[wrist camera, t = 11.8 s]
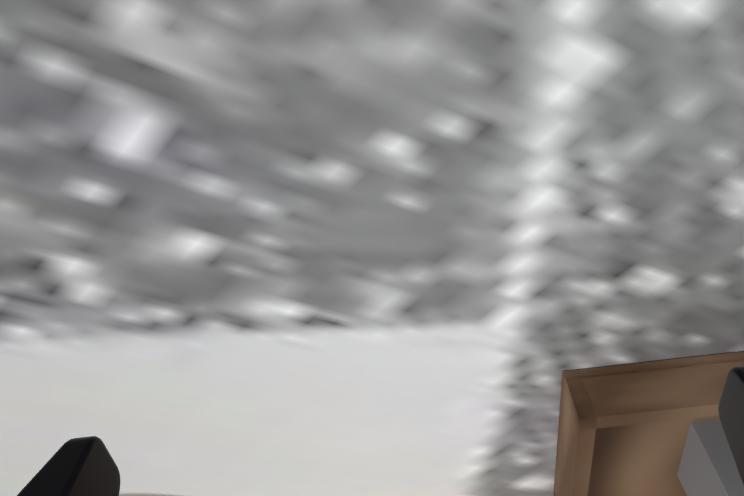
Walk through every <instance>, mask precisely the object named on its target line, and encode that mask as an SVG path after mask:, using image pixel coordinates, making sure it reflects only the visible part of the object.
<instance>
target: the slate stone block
mask: <svg viewBox="0 0 744 496" xmlns="http://www.w3.org/2000/svg"><path fill="white" fill-rule="evenodd" d="M677 476H678V478H679V480H680V482H681V484H682V487H683V489H684V491H685V493H686V495H687V496H744V485H743V483H742V480H741V477H740V474H739V472H738V469H737V466H736V464H735V461H734V458H733V455H732V453H731V450H730V447H729V444H728V442H727V439H726V436H725V433H724V431H723V428H722V425H721V422H720V419H714V420H704V421H695V422H691V424H690V428H689V432H688V435H687V439H686V443H685V447H684V451H683V454H682V458H681V462H680V466H679V470H678V473H677Z"/></svg>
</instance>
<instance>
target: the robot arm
mask: <svg viewBox="0 0 744 496" xmlns="http://www.w3.org/2000/svg"><path fill="white" fill-rule="evenodd" d="M718 413H719V419H720V422H721V425H722V428H723V431H724V433H725V436H726V439H727V442H728V444H729V447H730V450H731V453H732V455H733V458H734V461H735V464H736V466H737V469H738V472H739V474H740V477H741V480H742V483H743V485H744V366H740V367H734V368H732V369H731V370H730V371H729V372H728V374H727V377H726V381H725V384H724V387H723V391H722V394H721V398H720V401H719V406H718ZM119 490H120V473H119V470H118V467H117V466H116V464H115V462H114V460H113V459H112V457H111V455H110V454H109V452H108V450H107V448H106V447H105V445H104V443H103V442H102V440H101V439H100V438H98V437H95V436H92V437H82V438H74V439H71V440H69V441H67V442H66V443H65V444H64V445H63V446H62V447H61V448H60V449H59V450H58V451H57V452H56V453H55V454H54V456H53V457H52V458H51V459H50V460H49V461H48V462H47V463H46V464H45V465H44V467H43V468H42V469H41V470H40V471H39V472H38V473H37V474H36V475H35V476H34V477H33V479H32V480H31V481H30V482H29V483H28V484H27V485H26V486H25V487H24V488H23V489H22V491H21V492H20V493H19V494H18V495H17V496H119Z"/></svg>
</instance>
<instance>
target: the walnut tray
mask: <svg viewBox="0 0 744 496" xmlns="http://www.w3.org/2000/svg"><path fill="white" fill-rule="evenodd" d="M740 366H744V351H742V352H733V353H724V354H715V355H706V356H697V357H688V358H679V359H670V360H661V361H651V362H642V363H633V364H624V365H615V366H606V367H597V368H588V369H579V370H570V371H563V374H562V388H561V402H560V415H559V429H558V443H557V457H556V470H555V484H554V496H687V495H686V493H685V491H684V489H683V487H682V484H681V482H680V480H679V478H678V476H677V473H678V470H679V466H680V462H681V458H682V454H683V451H684V447H685V443H686V439H687V435H688V432H689V428H690V424H691V422H695V421H704V420H714V419H719V413H718V406H719V401H720V398H721V394H722V391H723V387H724V384H725V381H726V377H727V374H728V372H729V371H730V370H731V369H732V368H734V367H740Z"/></svg>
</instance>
